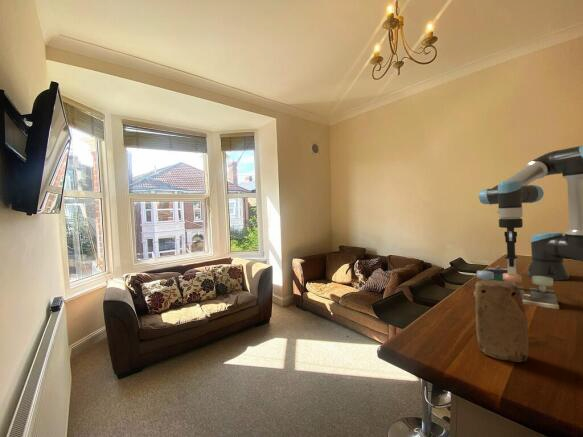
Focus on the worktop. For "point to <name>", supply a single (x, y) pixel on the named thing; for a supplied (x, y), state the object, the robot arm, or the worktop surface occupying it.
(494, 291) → the block
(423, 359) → the worktop surface
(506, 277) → the terracotta button
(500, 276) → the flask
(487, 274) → the slate button
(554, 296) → the button board
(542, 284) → the sage button
